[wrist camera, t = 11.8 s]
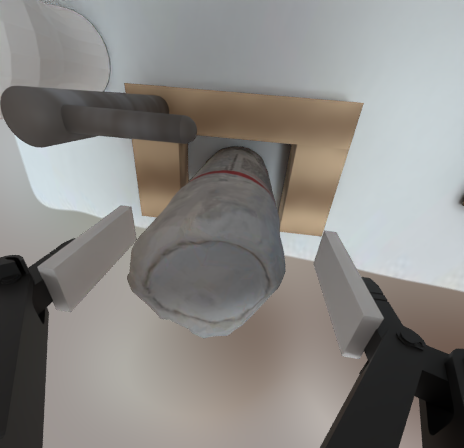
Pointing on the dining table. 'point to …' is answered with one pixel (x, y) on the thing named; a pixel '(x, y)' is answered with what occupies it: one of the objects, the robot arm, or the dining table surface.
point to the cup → (49, 48)
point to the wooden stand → (197, 123)
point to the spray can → (213, 247)
